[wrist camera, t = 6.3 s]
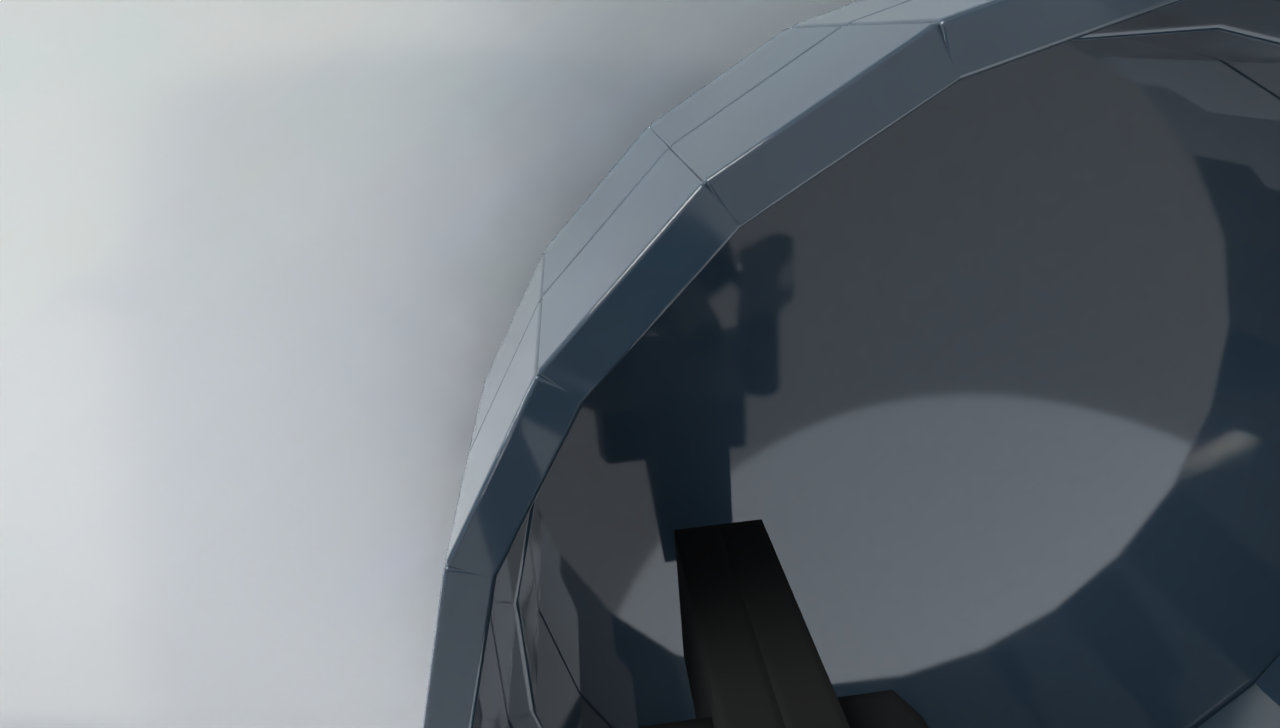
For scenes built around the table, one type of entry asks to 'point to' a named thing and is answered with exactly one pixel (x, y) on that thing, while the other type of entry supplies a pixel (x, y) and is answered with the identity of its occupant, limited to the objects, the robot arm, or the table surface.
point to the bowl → (907, 379)
